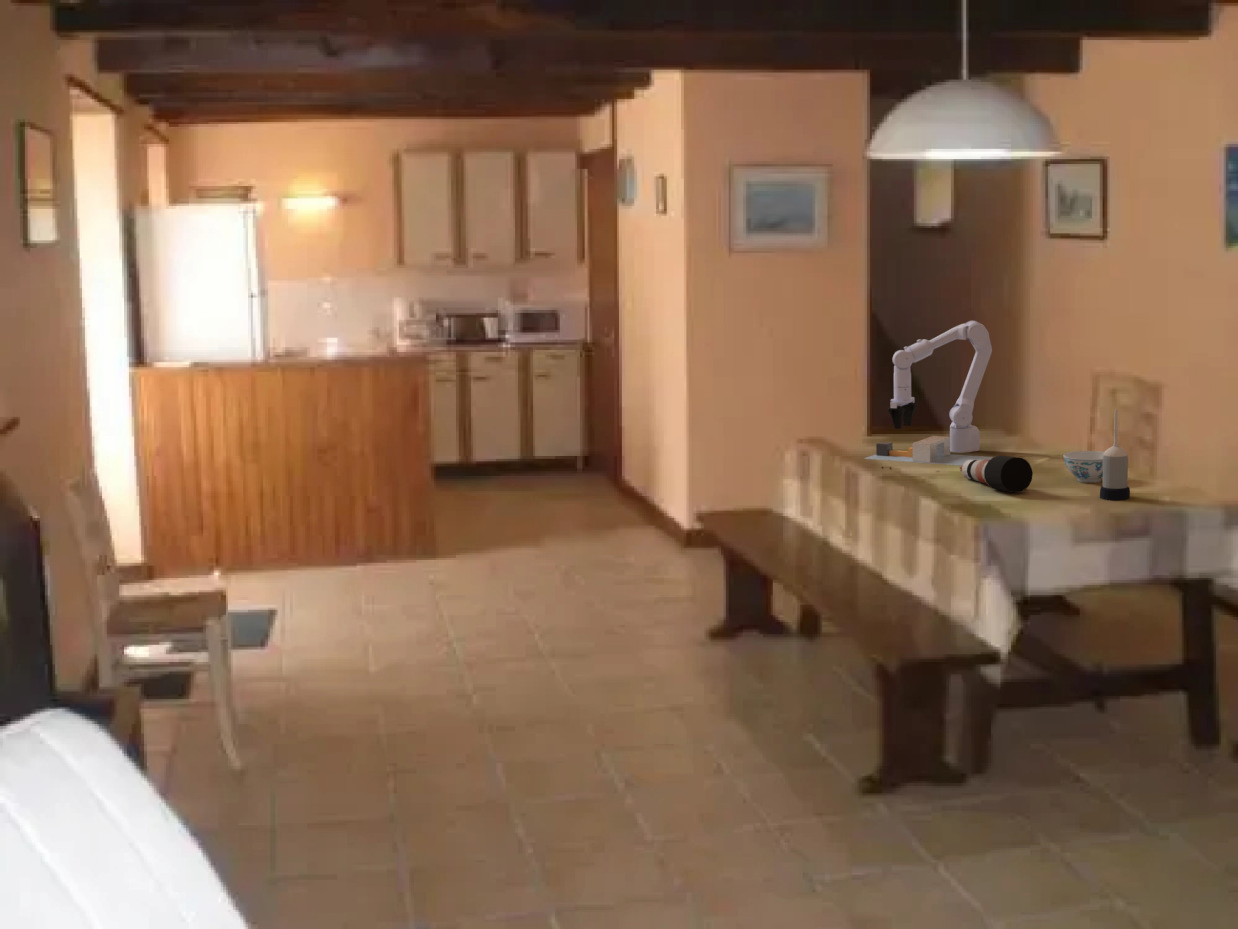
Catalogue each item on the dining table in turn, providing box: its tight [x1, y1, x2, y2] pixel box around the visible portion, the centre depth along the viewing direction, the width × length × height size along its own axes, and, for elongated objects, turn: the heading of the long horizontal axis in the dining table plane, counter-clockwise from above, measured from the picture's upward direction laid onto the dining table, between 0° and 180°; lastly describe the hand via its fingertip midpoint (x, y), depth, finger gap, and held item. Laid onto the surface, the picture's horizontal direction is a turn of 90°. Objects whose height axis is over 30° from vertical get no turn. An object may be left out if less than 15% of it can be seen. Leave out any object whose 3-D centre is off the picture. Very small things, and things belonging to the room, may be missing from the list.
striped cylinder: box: [959, 455, 1033, 493], centre depth 462 cm, size 10×34×10 cm, turn 12°
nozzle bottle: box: [1099, 409, 1131, 502], centre depth 436 cm, size 8×8×25 cm
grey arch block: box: [912, 435, 951, 464], centre depth 507 cm, size 6×16×6 cm, turn 145°
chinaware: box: [1063, 450, 1105, 484], centre depth 464 cm, size 15×15×8 cm
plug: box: [875, 441, 913, 457], centre depth 514 cm, size 13×4×4 cm, turn 55°
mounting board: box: [863, 453, 994, 467], centre depth 508 cm, size 39×18×1 cm, turn 55°
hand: (902, 426), depth 519 cm, fingers open, 7 cm apart
